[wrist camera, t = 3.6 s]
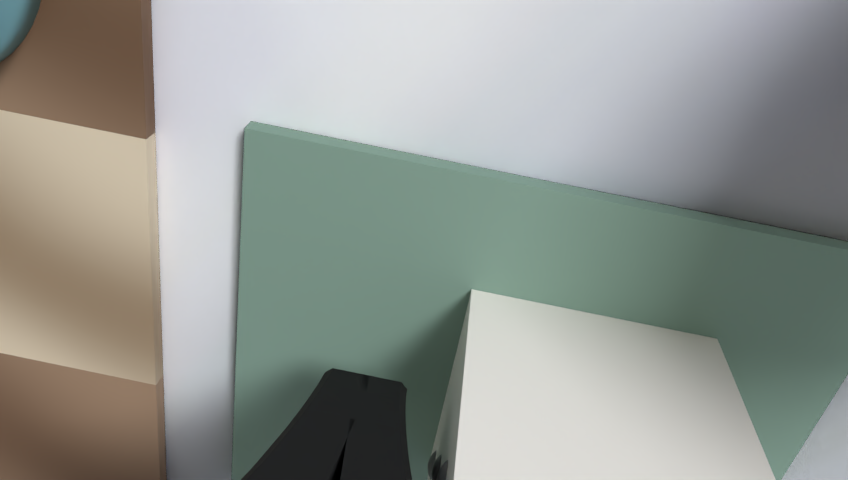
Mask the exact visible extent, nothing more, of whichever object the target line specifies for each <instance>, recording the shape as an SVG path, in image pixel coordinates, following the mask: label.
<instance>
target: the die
mask: <svg viewBox="0 0 848 480" xmlns="http://www.w3.org/2000/svg"><path fill="white" fill-rule="evenodd" d="M427 470H428V478H427V480H776V479H775V477H774V475H773V472H772V470H771V467H770V465H769V463H768V460H767V458H766V455H765V453H764V450H763V448H762V446H761V443H760V441H759V438H758V436H757V433H756V431H755V429H754V426H753V424H752V421H751V419H750V417H749V414H748V412H747V409H746V407H745V404H744V402H743V400H742V397H741V395H740V392H739V390H738V388H737V385H736V383H735V380H734V378H733V375H732V373H731V371H730V368H729V366H728V363H727V361H726V359H725V356H724V354H723V351H722V349H721V346H720V344H719V342H718V339H716V338H711V337H706V336H701V335H696V334H691V333H686V332H681V331H676V330H671V329H666V328H661V327H657V326H652V325H647V324H642V323H637V322H632V321H627V320H622V319H617V318H612V317H607V316H602V315H597V314H592V313H587V312H582V311H577V310H572V309H567V308H562V307H558V306H553V305H548V304H543V303H538V302H533V301H528V300H523V299H518V298H513V297H508V296H503V295H498V294H493V293H488V292H483V291H478V290H473V289H472V290H471V294H470V298H469V302H468V306H467V310H466V314H465V318H464V322H463V326H462V331H461V335H460V339H459V343H458V347H457V351H456V355H455V359H454V363H453V367H452V372H451V376H450V380H449V384H448V388H447V392H446V396H445V400H444V404H443V408H442V413H441V417H440V421H439V425H438V429H437V433H436V437H435V441H434V445H433V449H432V453H431V457H430V459H429V461H428V466H427Z"/></svg>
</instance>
